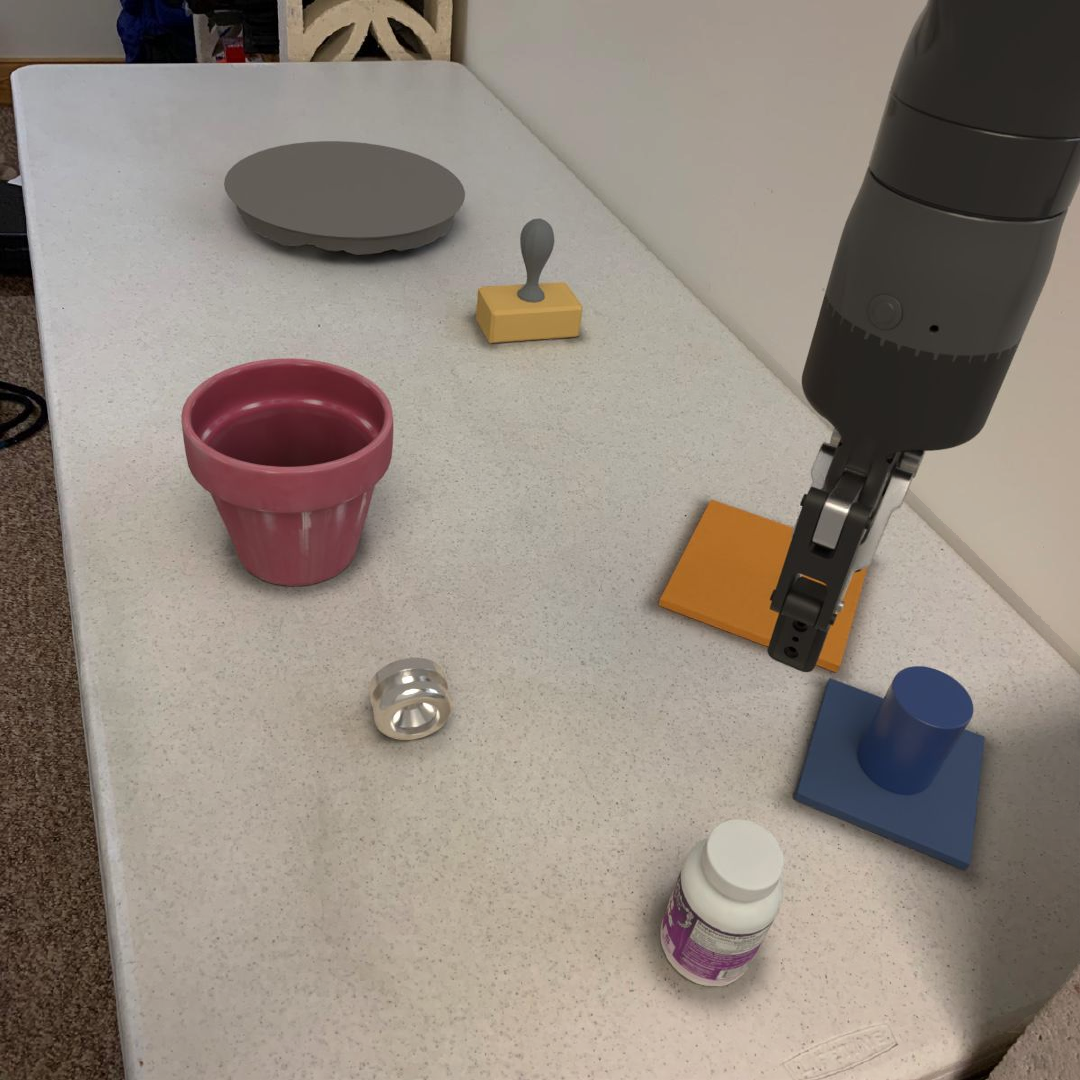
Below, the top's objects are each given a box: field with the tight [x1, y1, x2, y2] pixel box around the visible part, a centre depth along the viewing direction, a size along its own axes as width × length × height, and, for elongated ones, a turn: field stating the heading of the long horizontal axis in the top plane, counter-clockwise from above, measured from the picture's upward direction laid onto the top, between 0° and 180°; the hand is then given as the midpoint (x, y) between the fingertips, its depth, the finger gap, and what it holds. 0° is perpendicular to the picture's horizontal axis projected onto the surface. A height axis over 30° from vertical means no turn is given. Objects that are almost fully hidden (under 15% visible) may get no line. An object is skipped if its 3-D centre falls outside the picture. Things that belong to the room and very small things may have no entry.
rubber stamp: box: [475, 218, 584, 344], centre depth 102 cm, size 10×6×12 cm, turn 108°
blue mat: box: [793, 677, 985, 871], centre depth 66 cm, size 11×11×1 cm
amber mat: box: [658, 499, 868, 673], centre depth 79 cm, size 14×14×1 cm
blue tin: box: [858, 665, 974, 795], centre depth 64 cm, size 5×5×7 cm
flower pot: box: [180, 357, 394, 587], centre depth 73 cm, size 14×14×13 cm
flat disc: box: [223, 140, 466, 256], centre depth 119 cm, size 28×28×4 cm
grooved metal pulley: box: [368, 657, 453, 741], centre depth 64 cm, size 5×3×5 cm, turn 105°
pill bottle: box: [659, 818, 785, 987], centre depth 53 cm, size 5×5×10 cm
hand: (817, 609), depth 49 cm, fingers open, 8 cm apart
